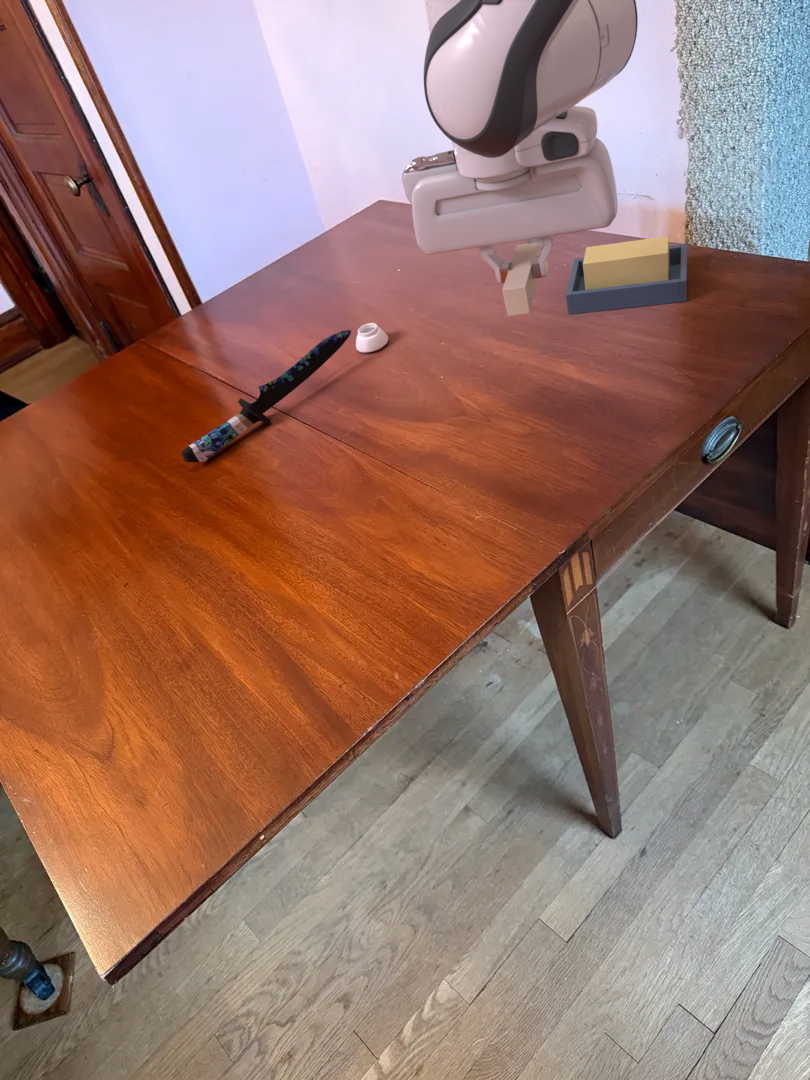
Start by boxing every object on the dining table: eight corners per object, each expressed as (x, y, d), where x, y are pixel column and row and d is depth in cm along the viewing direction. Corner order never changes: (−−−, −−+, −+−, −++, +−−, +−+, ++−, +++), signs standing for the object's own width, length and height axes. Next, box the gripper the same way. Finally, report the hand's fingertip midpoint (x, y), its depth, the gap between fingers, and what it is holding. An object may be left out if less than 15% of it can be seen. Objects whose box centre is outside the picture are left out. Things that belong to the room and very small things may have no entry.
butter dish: (687, 263, 106) (687, 243, 104) (686, 301, 99) (686, 280, 97) (576, 277, 112) (574, 258, 110) (568, 314, 105) (565, 294, 103)
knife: (199, 478, 102) (181, 455, 99) (190, 470, 104) (173, 446, 101) (367, 351, 109) (356, 325, 106) (356, 345, 111) (344, 320, 108)
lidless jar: (365, 358, 111) (394, 343, 112) (359, 341, 109) (389, 326, 110) (352, 347, 115) (380, 333, 116) (346, 330, 113) (374, 316, 114)
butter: (669, 263, 104) (668, 235, 101) (668, 280, 101) (667, 252, 98) (588, 273, 108) (586, 247, 105) (585, 290, 105) (582, 263, 102)
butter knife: (530, 313, 77) (525, 286, 75) (507, 316, 78) (502, 289, 76) (555, 217, 92) (552, 193, 90) (536, 220, 93) (532, 196, 91)
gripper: (389, 174, 72) (424, 305, 81) (608, 130, 65) (619, 279, 74) (404, 150, 76) (436, 277, 85) (612, 106, 69) (622, 250, 78)
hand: (523, 277), depth 79 cm, fingers closed on butter knife, 2 cm apart
